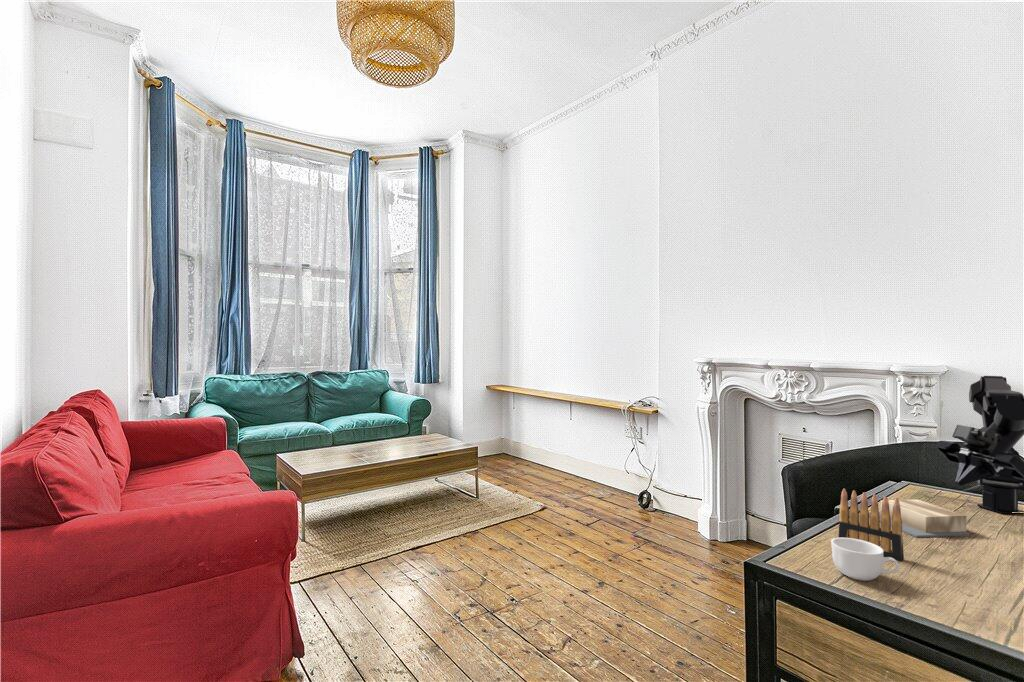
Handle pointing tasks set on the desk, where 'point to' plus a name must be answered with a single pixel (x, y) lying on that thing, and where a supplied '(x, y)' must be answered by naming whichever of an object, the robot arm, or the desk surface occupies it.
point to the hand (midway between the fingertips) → (957, 484)
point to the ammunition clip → (872, 524)
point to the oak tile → (928, 516)
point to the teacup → (859, 558)
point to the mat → (920, 533)
